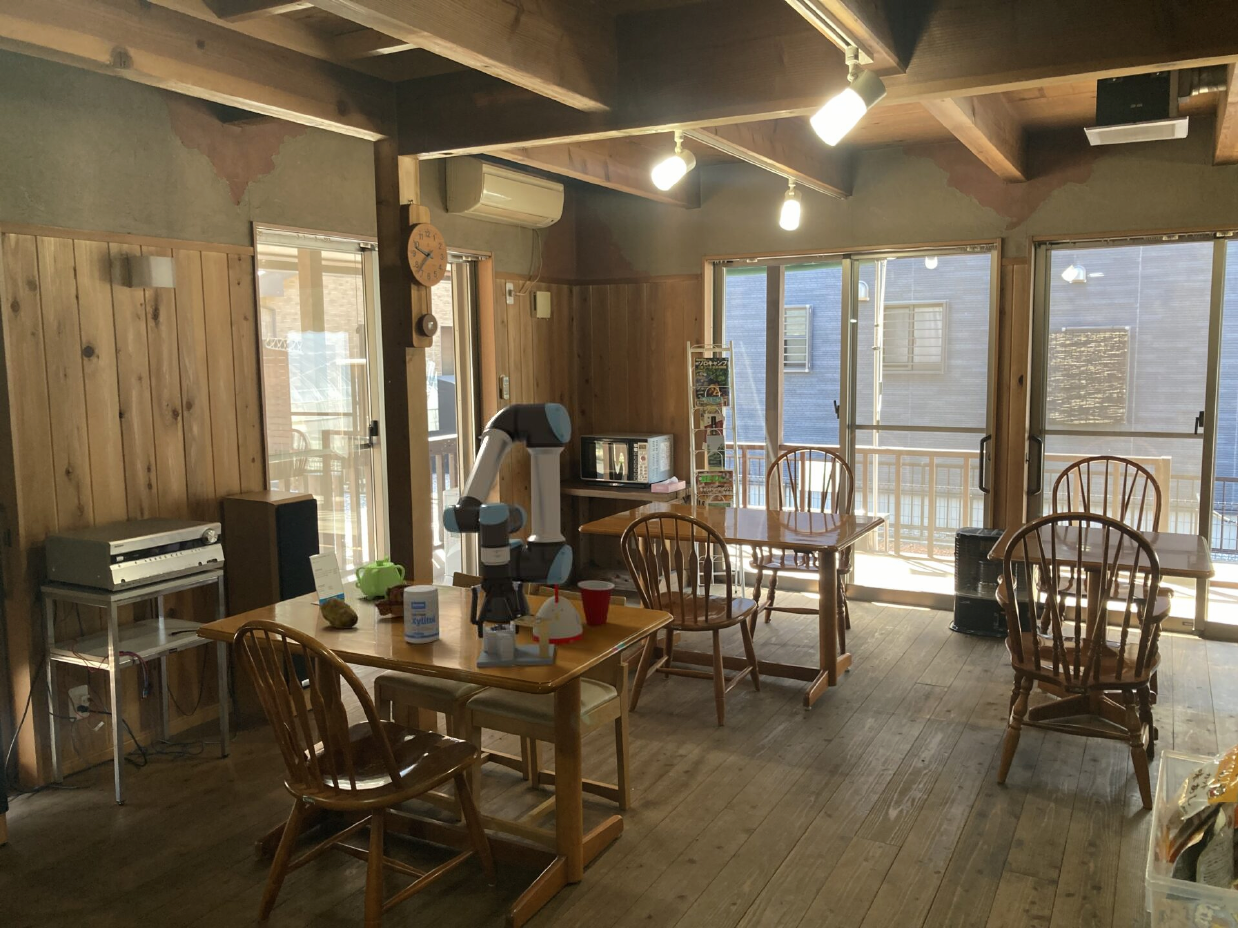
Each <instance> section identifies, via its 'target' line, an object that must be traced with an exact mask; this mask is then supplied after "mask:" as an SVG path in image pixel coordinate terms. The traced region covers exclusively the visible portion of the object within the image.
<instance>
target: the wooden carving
mask: <svg viewBox="0 0 1238 928" xmlns="http://www.w3.org/2000/svg"><path fill="white" fill-rule="evenodd" d="M411 586H414V585H413V584H409V583H407V584H404V583H402V584H397V585H395V586H393V587H391V588H390V587H388V588H387V590H386V595H387V596H388V599H380V600H378V601H376V602H375V603H374V607H376V608H377V610H378V613H379V616H382V617H384V616H387V615H389V614H391V615H393V616H395V617H404V589H405V588H407V587H411ZM415 586H417V584H416V585H415Z"/></svg>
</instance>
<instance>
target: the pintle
mask: <svg viewBox="0 0 1238 928" xmlns="http://www.w3.org/2000/svg"><path fill="white" fill-rule="evenodd" d="M502 625H503V624H501V623H495V624H494V625H493V626H494V631H499V630H503V628H502Z"/></svg>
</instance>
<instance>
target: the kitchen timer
mask: <svg viewBox="0 0 1238 928" xmlns="http://www.w3.org/2000/svg"><path fill="white" fill-rule="evenodd" d="M534 616H535V617H542V618H549V619H553V624H550V625H549V644H554V645H564V644H563V643H566V644H572V643H575V641H576V642H579V641H580V640H583V637H584V630H583V625H582V624H583V623H582V617H581V615H580V612H579V610H576V608H575V606H574V605H573V604H572V602H570V601H569V600H568V599H567V598H566V597H564V596H561V595H559V584H554V595H553V596H551V597H549V598H548V599H547V600H546V601H544V602H543V604H542V605H541V607H540V608H539V610H538V612H536V613H535V614H534ZM532 628H533V629H532V639H533V642H536V641H537V642H536V643H538V642H539V628H535V627H532Z"/></svg>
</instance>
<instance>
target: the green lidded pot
mask: <svg viewBox="0 0 1238 928" xmlns="http://www.w3.org/2000/svg"><path fill="white" fill-rule="evenodd" d="M389 558H390V556H389V554H388V555H387V554H386V555H385V556H384V558H383V559H381V558H379V559H375V562H373V563H370V564H366V565H361V566H359V567H357V568H356V569H355V576H356V578H357V580H358V581H356V582H355V585H354V586H355V588H356V589H360V591H361V593H362V594H363V595H364V596H367V597H366V598H365V600H366V601H367V600H370V601H371V600H374V598H375V597H377V596H381V597H383V598H384V599H388V596H387V595H386V590H387V588H388V587H390V588H391V587H393V586H395V585H397V584H408V583H407V581H406V580H404V578H405V575H406V574H405V572H406V571H405V570H406V569H405V568H404V567H403V566H402V565H399V564H397V565H395V564H394V563H393V562H391V561H390V560H389ZM389 561H390V562H389ZM361 569H362V570H363V573H362V575H360V570H361ZM398 569H400V570H401V575H400V573H399V571H398ZM384 599H383V600H384Z"/></svg>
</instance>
